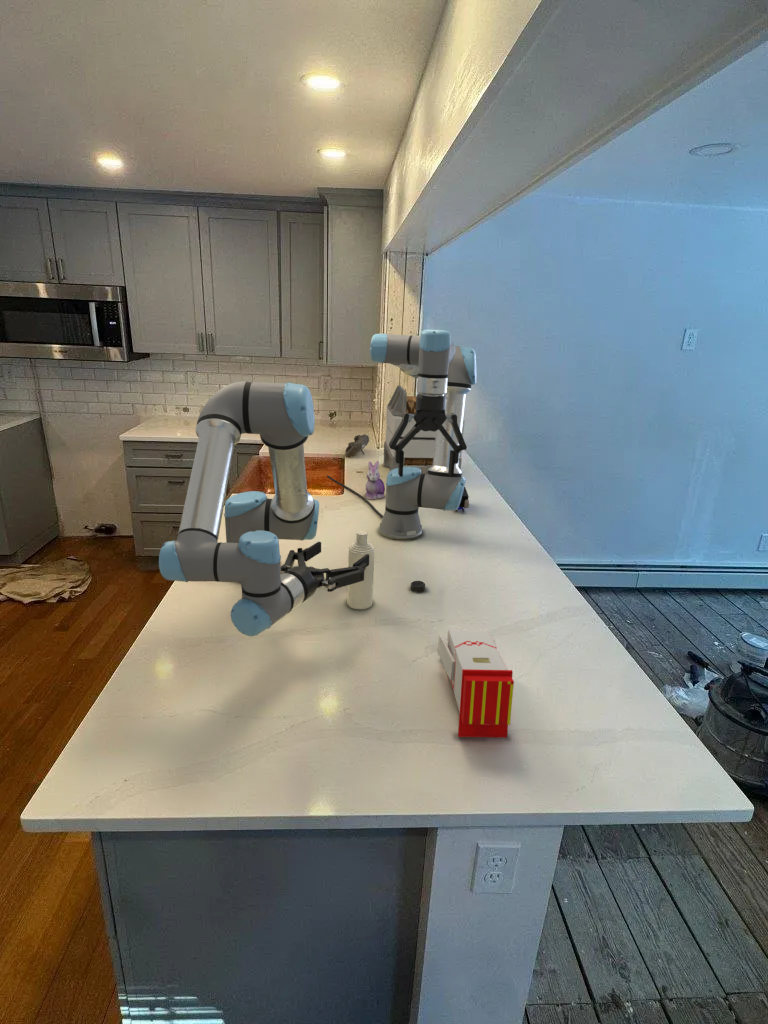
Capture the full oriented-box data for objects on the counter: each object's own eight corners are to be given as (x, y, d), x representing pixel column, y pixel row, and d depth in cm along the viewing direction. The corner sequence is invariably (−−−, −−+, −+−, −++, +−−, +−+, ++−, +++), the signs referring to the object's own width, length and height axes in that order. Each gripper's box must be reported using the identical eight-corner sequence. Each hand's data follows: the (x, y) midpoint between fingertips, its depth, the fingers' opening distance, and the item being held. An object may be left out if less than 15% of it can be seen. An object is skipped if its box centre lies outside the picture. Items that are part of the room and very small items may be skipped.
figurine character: (469, 517, 223) (463, 501, 236) (471, 500, 219) (465, 484, 233) (452, 516, 222) (447, 500, 236) (454, 499, 219) (449, 483, 232)
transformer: (382, 463, 289) (386, 382, 275) (445, 464, 293) (451, 384, 279) (390, 482, 257) (394, 392, 243) (460, 483, 261) (468, 394, 247)
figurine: (370, 501, 232) (371, 465, 226) (359, 493, 240) (360, 459, 235) (390, 498, 236) (392, 463, 231) (379, 491, 244) (380, 457, 239)
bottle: (375, 599, 154) (378, 530, 147) (367, 611, 148) (369, 539, 141) (352, 595, 156) (354, 526, 149) (343, 606, 150) (345, 535, 143)
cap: (421, 585, 164) (422, 579, 163) (427, 591, 160) (427, 586, 159) (408, 586, 162) (409, 581, 162) (413, 593, 159) (414, 587, 158)
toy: (488, 613, 130) (523, 677, 101) (484, 667, 133) (517, 744, 104) (435, 612, 130) (455, 676, 101) (432, 666, 133) (451, 743, 103)
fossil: (345, 440, 315) (366, 425, 310) (356, 453, 318) (377, 439, 313) (338, 454, 296) (361, 438, 291) (350, 468, 298) (372, 452, 293)
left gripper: (246, 589, 127) (301, 555, 144) (341, 620, 116) (388, 579, 134) (244, 558, 124) (300, 528, 142) (342, 587, 114) (389, 550, 131)
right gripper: (384, 395, 137) (380, 479, 145) (483, 397, 141) (475, 479, 148) (380, 390, 144) (377, 471, 152) (475, 393, 148) (467, 471, 155)
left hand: (343, 552), depth 138 cm, fingers open, 13 cm apart
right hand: (425, 475), depth 150 cm, fingers open, 13 cm apart
